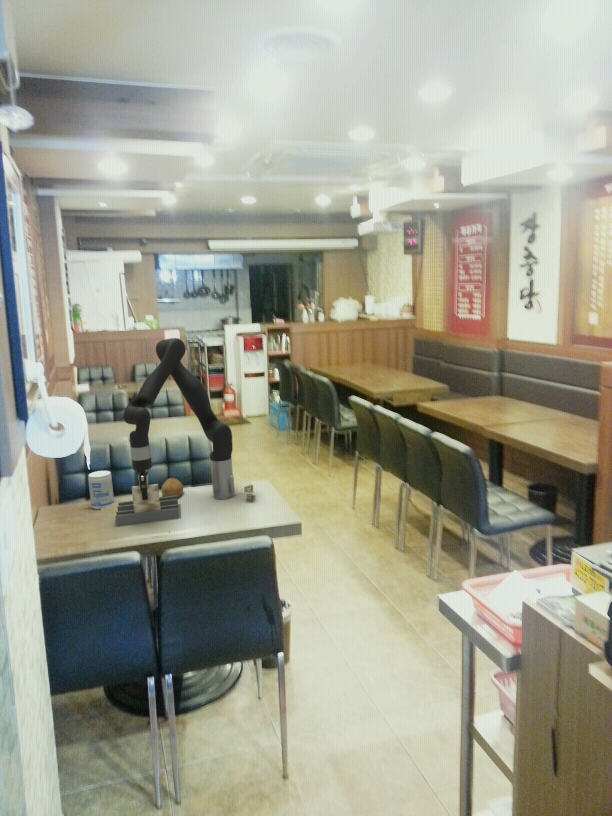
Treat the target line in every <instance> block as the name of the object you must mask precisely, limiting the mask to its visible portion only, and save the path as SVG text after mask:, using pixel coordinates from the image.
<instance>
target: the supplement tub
mask: <svg viewBox="0 0 612 816" xmlns="http://www.w3.org/2000/svg"><path fill="white" fill-rule="evenodd" d="M87 479H88V487H89V497H90V498H89V499H90V506H91V508H92V509H94V510H95V509H96V510H102V507H106V506H109V505H112V504H113V503H114V502H115V499H114V488H113V478H112V472H111V471H109V470H97V471H93V472H91V473H89V474H88V478H87Z"/></svg>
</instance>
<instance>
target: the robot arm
mask: <svg viewBox="0 0 612 816" xmlns="http://www.w3.org/2000/svg"><path fill="white" fill-rule="evenodd" d="M186 350H187V349H186V345H185V342H184V341H183V340H182V339H180V338H178V337H177V338H176V337H172V338H166V339H161V340H159V341H158V342H157V343H156V345H155V353H156V356H157V357H158V359H159V360H160V363H159V364H158V366H157V367H156V368H155V369H154V370H153V371H152V372H151V373H150V374H149V375H148V377H147V378H146V379H145V380H144V382H143V383H142V386H141V387H140V389H139V391H138V392H137V394H136V395H135V396H134V397H133V399H132V400H131V401H130V402H129V403H128V404H127V405H126V407H125V408H124V411H123V414H122V415H123V416H122V418H123V421H124V422H125V423H126V424H128V425H133V426H135V430H133V431H131V432H130V433H129V444H130V457H131V460H130V461H131V466H132V470H133V471H135V472H137V479H138V486H140V491H141V493H142V500H148V493H147V490H148V488H147V485H149V476H150V475H149V471H148V470H150V469H152V468H153V462H152V452H151V446H150V439H149V431H150V426H151V420H152V419H151V413H150V411H149V410H148V409H147V407H149V406H152V405H154V403H155V401H156V400H157V398H158V396H159V394H160V392H161V390H162V388H163V386H164V384H165V383H166V382H167V380H168V379H169V376H171V378H172V379H173V381H174V382H175V384H176V386H177V387H178V389H179V391H180V393H181V395H182V396H183V398H184V399H185V402H187V404H188V406H189V408H190V409H191V411H192V412H193V414H194V415H195V416H196V418H197V419H198V422H199V423H200V426H201V428H202V430H203V432H204V434H205V437H206V438H207V440H209V442H212V451H211V452H210V453H209V459H210V469H211V470H210V471H211V483H212V495H213V498H214V499H218V500H227V499H230V498H233V497H234V498H235V497H236V492H235V479H234V477H235V476H234V474H233V459H232V453H233V450H234V449H233V434H232V433H233V432H232V430H231V427H230V426H229V425H228V424H226V423H224V422H221V421H220V420H219V419H218V418H217V416H216V414H215V413H214V411H213V409H212V407H211V406H212V405H211V401H210V398H209V394H208V393H207V391H206V389H205V386H204V385H203V383H202V382H201V380H200V379H199V378H198V377H197V376H196V375H194V374H193V373H192V372H191V371H189V370H188V369H187V367H185V366H184V364H183V363H182V359H183V358H184V356H185V354H186ZM144 485H145V488H142V486H144Z"/></svg>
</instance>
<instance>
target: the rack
mask: <svg viewBox="0 0 612 816" xmlns="http://www.w3.org/2000/svg"><path fill="white" fill-rule="evenodd" d="M178 498H179V497H178ZM178 498H177V496H168V497H165V496H163V497H160V496H159V499H160V508H161V510H158V511H149V512H141V513H134V504H133V500H128V501H127V500H126V501H119V502H118V503H117V511H115V514H116V515H115V516H114V517H115V519H114V523H113V527H114V528H115V527H121V526H128V525H129V526H130V525H138V524H145V523H155V522H161V521H169V520H176V519H182V508H181V507H182V506H181V504H180V503H179V502H178V501H179V500H178Z"/></svg>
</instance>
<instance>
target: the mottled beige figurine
mask: <svg viewBox="0 0 612 816" xmlns="http://www.w3.org/2000/svg"><path fill="white" fill-rule="evenodd" d="M243 492H244V494H246V498H247V499H246V501H247V500H251V501H252V500H253V499H252V496H253V495H252V494H254V484H251V483H249V485H247V483H246V485H245V486H243ZM251 501H250V502H251Z"/></svg>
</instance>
